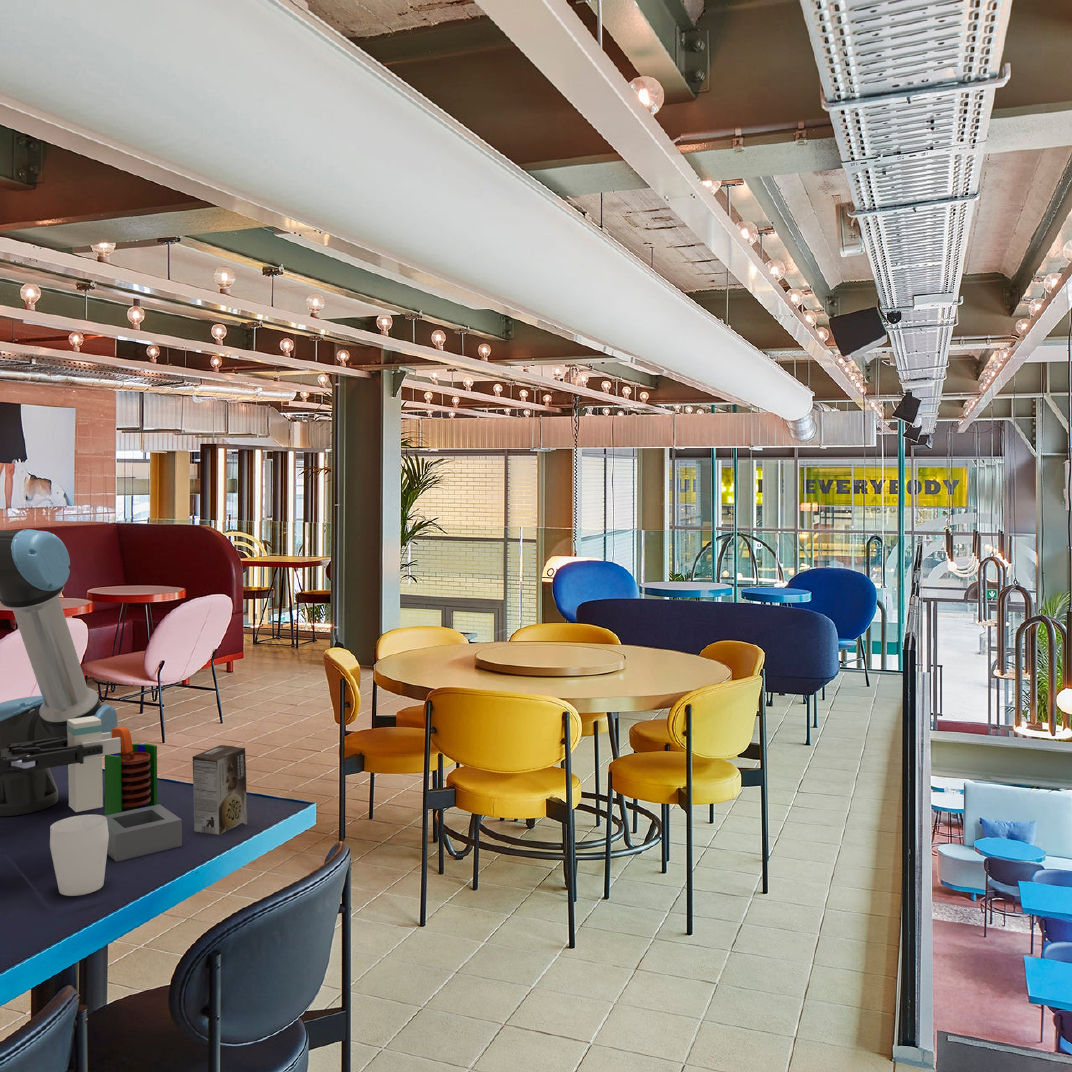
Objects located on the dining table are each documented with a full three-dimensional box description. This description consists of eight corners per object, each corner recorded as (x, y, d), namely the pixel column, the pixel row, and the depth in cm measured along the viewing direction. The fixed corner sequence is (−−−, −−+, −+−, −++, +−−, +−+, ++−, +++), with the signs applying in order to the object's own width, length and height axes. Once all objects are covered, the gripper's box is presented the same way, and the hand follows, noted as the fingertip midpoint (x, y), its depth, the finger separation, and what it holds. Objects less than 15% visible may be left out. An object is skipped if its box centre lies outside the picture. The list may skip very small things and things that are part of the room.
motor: (134, 835, 190) (131, 736, 189) (94, 832, 192) (91, 734, 191) (163, 818, 200) (161, 723, 199) (125, 816, 202) (123, 722, 201)
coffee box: (222, 821, 198) (220, 744, 198) (248, 824, 196) (247, 746, 195) (192, 836, 190) (190, 755, 189) (219, 840, 188) (218, 758, 187)
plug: (68, 806, 176) (66, 719, 175) (95, 800, 179) (94, 715, 178) (75, 812, 172) (74, 724, 172) (103, 806, 175) (101, 720, 175)
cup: (69, 908, 157) (66, 835, 156) (41, 895, 162) (38, 825, 161) (121, 889, 164) (118, 820, 163) (93, 877, 169) (90, 810, 169)
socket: (96, 848, 183) (95, 817, 183) (160, 833, 191) (159, 804, 191) (116, 867, 174) (115, 834, 174) (182, 850, 182) (181, 819, 182)
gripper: (-37, 775, 170) (101, 752, 186) (-16, 798, 157) (131, 772, 172) (-38, 733, 170) (100, 714, 185) (-17, 753, 157) (130, 730, 172)
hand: (115, 742), depth 179 cm, fingers closed on plug, 5 cm apart
